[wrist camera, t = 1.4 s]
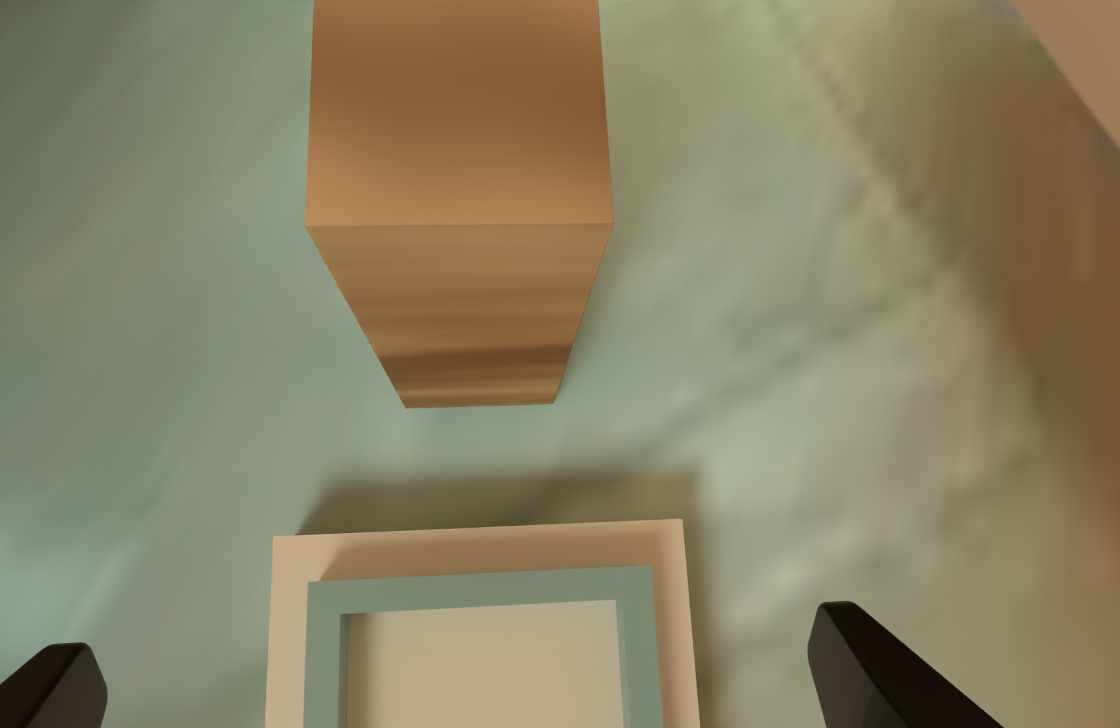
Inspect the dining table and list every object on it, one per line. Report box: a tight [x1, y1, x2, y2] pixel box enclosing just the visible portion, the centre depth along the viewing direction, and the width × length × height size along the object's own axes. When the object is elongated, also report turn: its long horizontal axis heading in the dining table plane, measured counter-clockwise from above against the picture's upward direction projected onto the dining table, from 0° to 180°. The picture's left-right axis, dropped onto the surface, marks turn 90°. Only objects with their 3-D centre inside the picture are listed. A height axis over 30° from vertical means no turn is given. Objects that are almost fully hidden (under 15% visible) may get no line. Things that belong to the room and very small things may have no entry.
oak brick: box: [305, 0, 614, 408], centre depth 18 cm, size 4×4×13 cm
